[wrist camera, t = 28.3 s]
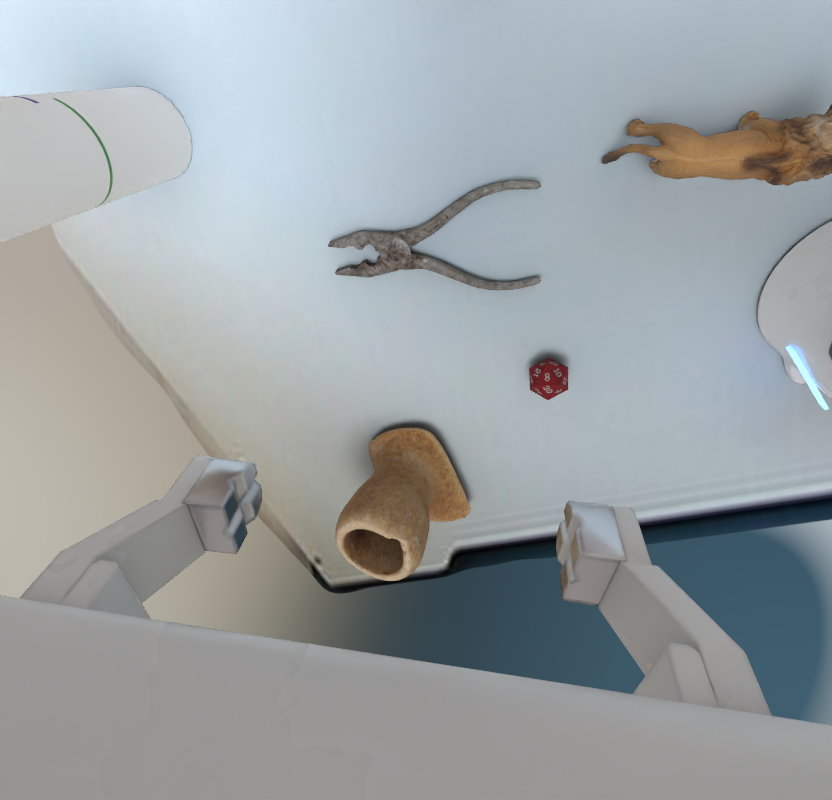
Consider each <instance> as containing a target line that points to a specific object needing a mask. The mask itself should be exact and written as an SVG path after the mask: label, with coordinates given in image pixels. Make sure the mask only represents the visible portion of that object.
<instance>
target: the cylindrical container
mask: <svg viewBox="0 0 832 800" xmlns="http://www.w3.org/2000/svg"><path fill="white" fill-rule="evenodd" d="M191 156H192V142H191V136H190V133H189V130H188V127H187V125H186V123H185V121H184V119H183V117H182V116H181V114H180V113H179V111H178V110H177V109H176V107H175V106H174V105H173V104H172V103H171V102H170V101H169V100H168V99H166V98H165V97H164V96H163V95H161V94H160V93H158V92H156V91H154V90H152V89H149V88H146V87H139V86H137V87H124V88H111V89H98V90H85V91H72V92H60V93H47V94H34V95H21V96H8V97H0V243H1V242H4V241H7V240H9V239H12V238H15V237H17V236H20V235H22V234H26V233H28V232H31V231H34V230H36V229H39V228H42V227H44V226H47V225H50V224H53V223H55V222H58V221H61V220H63V219H66V218H69V217H71V216H74V215H77V214H80V213H82V212H85V211H88V210H90V209H93V208H96V207H98V206H101V205H104V204H106V203H109V202H112V201H114V200H117V199H120V198H122V197H125V196H128V195H130V194H133V193H136V192H138V191H141V190H144V189H146V188H149V187H152V186H154V185H157V184H160V183H162V182H165V181H168V180H170V179H173V178H176V177H178V176H180V175H181V174H182V173H184V171H185V170H186V169H187V168H188V166H189V163H190V161H191Z"/></svg>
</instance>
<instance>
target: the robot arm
mask: <svg viewBox="0 0 832 800" xmlns="http://www.w3.org/2000/svg"><path fill="white" fill-rule="evenodd" d="M758 323H759V327H760V330H761V333H762V335H763V337H764V338H765V340H766V341H767V342H768V343H769V344H770V345H771V346H772V347H773V348H774V349H775V350H776V351H777V352H779V354H780V355H781V356H782V357H783V361H784V366H785V370H786V373H787V375H788V376H789V377H790V378H791V379H792V380H794V381H795V382H797V383H800V384H808V386H809V387H810V389H811V391H812V392H813V394H814V396H815V397H816V399H817V401H818V403H819V404H820V405H821V406H822V407H823V408H824V409H825V410H827V409H829V408H828V406H827V404H826V403H825V401H824V399H823V398H822V396H821V394H820V392H819V391H818V389H817V387H818V388H819V389H820V390H821V391H823V392H824V393H825V394H826V395H828V396H829V397H830V398H831V399H832V221H830V222H828V223H826V224H825V225H823V226H821V227H820V228H818V229H817V230H815V231H814V232H812V233H811V234H809V235H808V236H807V237H805V238H804V239H803V240H802V241H800V242H799V243H798V244H797V245H796V246H795V247H793V248H792V249H791V250H790V251H789V252H788V253H787V254H786V255H785V257H784V258H783V259H782V260H781V261H780V262H779V264H778V265H777V266H776V267H775V269H774V270H773V272H772V273H771V275H770V276H769V278H768V280H767V282H766V284H765V286H764V288H763V290H762V293H761V296H760V300H759V304H758ZM256 475H257V470H256V466H255V464H253V463H249V462H242V461H235V460H229V459H222V458H213V457H206V456H197V457H195V458H193V459H192V461H191V462H190V463H189V464H188V466H187V467H186V468H185V470H184V471H183V473H182V474H181V475H180V476H179V478H178V479H177V480H176V482H175V483H174V484H173V486H172V487H171V488H170V489H169V491H168V492H167V493H166V495H165V496H164V497H163V499H162V500H161V501H159V500H155V501H153V502H151V503H149V504H148V505H146V506H144V507H142V508H140V509H138V510H137V511H135V512H133V513H131V514H129V515H127V516H125V517H124V518H122V519H120V520H118V521H116V522H115V523H113V524H111V525H109V526H107V527H105V528H104V529H102V530H100V531H98V532H96V533H94V534H92V535H91V536H89V537H87V538H85V539H83V540H81V541H80V542H78V543H76V544H74V545H73V546H70V547H69V548H67V549H65V550H63V551H61V552H60V553H59V554H58V555H57V556H56V557H55V559H54V560H53V561H52V562H51V563H50V564H49V565H48V566H47V568H46V569H45V570H44V571H43V572H42V573H41V574H40V576H39V577H38V578H37V579H36V580H35V581H34V582H33V583H32V585H31V586H30V587H29V588H28V589H27V590H26V591H25V593H24V594H23V595H22V596H21V597H20V598H14V597H7V596H1V595H0V800H832V725H826V724H820V723H813V722H806V721H800V720H794V719H787V718H780V717H775V716H772V715H771V713H770V711H769V708H768V706H767V704H766V701H765V699H764V697H763V694H762V692H761V689H760V687H759V685H758V682H757V680H756V677H755V675H754V673H753V670H752V668H751V666H750V663H749V661H748V658H747V656H746V654H745V652H744V651H743V650H742V649H741V648H740V647H739V646H738V645H737V644H736V643H735V642H734V641H733V640H732V639H731V638H730V637H729V636H728V635H727V634H726V633H725V632H724V631H723V630H722V629H721V628H720V627H719V626H718V625H717V624H716V623H715V622H714V621H713V620H712V619H711V618H710V617H709V616H708V615H707V614H706V613H705V612H704V611H703V610H702V609H701V608H700V607H699V606H698V605H697V604H696V603H695V602H694V601H693V600H692V599H691V598H690V597H689V596H688V595H687V594H686V593H685V592H684V591H683V590H682V589H681V588H680V587H679V586H677V584H676V583H674V581H673V580H672V579H670V577H668V576H667V574H665V572H663V571H662V569H661V568H659V567H658V566H654V565H651V561H650V559H649V555H648V552H647V549H646V546H645V542H644V539H643V536H642V533H641V530H640V527H639V524H638V520H637V517H636V514H635V511H634V510H633V509H632V508H628V507H619V506H609V505H602V504H593V503H584V502H575V501H568V503H567V504H566V507H565V510H564V513H565V520H564V521H562V522H560V525H559V529H558V533H557V558H558V560H559V562H560V563H561V564H562V565H563V567H562V570H561V573H560V581H561V589H562V596H563V600H566V601H572V602H578V603H584V604H590V605H596V606H599V607H598V608H599V609H600V611H601V612H602V614H603V615H604V617H605V618H606V619H607V621H608V622H609V624H610V625H611V627H612V628H613V630H614V631H615V632H616V634H617V635H618V637H619V638H620V640H621V641H622V642H623V644H624V645H625V647H626V648H627V649H628V651H629V652H630V654H631V655H632V657H633V658H634V660H635V661H636V663H637V664H638V665H639V667H640V668H641V670H642V671H643V673H644V674H645V676H646V677H645V678H644V679H643V681H642V682H641V683H640V685H639V686H638V688H637V689H636V690H635V692H634V693H633V694H628V693H621V692H615V691H608V690H601V689H596V688H588V687H583V686H576V685H570V684H563V683H557V682H551V681H544V680H538V679H531V678H525V677H519V676H512V675H506V674H499V673H493V672H487V671H480V670H474V669H467V668H461V667H455V666H448V665H442V664H436V663H429V662H423V661H417V660H410V659H404V658H397V657H390V656H384V655H378V654H371V653H365V652H359V651H352V650H346V649H339V648H333V647H327V646H320V645H314V644H307V643H301V642H294V641H288V640H281V639H275V638H268V637H262V636H255V635H249V634H243V633H237V632H230V631H224V630H218V629H211V628H204V627H198V626H192V625H185V624H179V623H173V622H166V621H160V620H154V619H150V617H149V615H148V613H147V611H146V610H145V609H144V607H143V605H142V603H143V602H144V601H145V600H146V599H148V598H149V597H150V596H151V595H153V594H154V593H155V592H156V591H158V590H159V589H160V588H161V587H163V586H164V585H165V584H166V583H168V582H169V581H170V580H171V579H173V578H174V577H175V576H176V575H178V574H179V573H180V572H181V571H183V570H184V569H185V568H186V567H188V566H189V565H190V564H192V563H193V562H194V561H195V560H196V559H198V558H199V557H200V556H202V555H203V554H204V553H205V551H213V552H221V553H230V554H237V552H238V550H239V549H240V547H241V545H242V543H243V541H244V539H245V537H246V535H247V529H246V525H247V524H249V523H250V522H252V521H253V520H255V517H256V516H257V514H258V512H259V509H260V505H261V501H262V490H261V485H260V484H259V483H258V482H257V481H256V480H255V479H254V478H255V477H256Z"/></svg>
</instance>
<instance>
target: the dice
mask: <svg viewBox="0 0 832 800" xmlns="http://www.w3.org/2000/svg"><path fill="white" fill-rule="evenodd" d="M529 372H530V390H532V391H533V392H535V393H537V394H538V395H540V396H542V397H543V398H545V399H547V400H549V399H551V398H553V397H555V396H557V395H558V394H560V393H562V392H564V391H566V390H568V367H566V366H564V365H562V364H560V363H558V362H556V361H554V360H552V359H550V358H548V359H546V360H544V361H542V362H540V363H538V364H537V365H535V366H533V367H531V368H529Z"/></svg>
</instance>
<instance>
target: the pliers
mask: <svg viewBox="0 0 832 800" xmlns="http://www.w3.org/2000/svg"><path fill="white" fill-rule="evenodd" d="M540 186H541V185H540V183H539V182H536V181H531V180H512V181H504V182H498V183H494V184H490V185H487V186H483V187H481V188H478V189H476V190H474V191H471V192H470V193H468V194H466V195H465V196H463V197H462V198H460V199H459V200H457V201H456V202H455V203H453V204H452V205H450V206H449V207H448V208H446V209H445V210H444V211H442V212H441V213H440V214H438V215H437V216H436V217H434V218H433V219H431V220H430V221H428V222H427V223H425V224H423V225H421V226H419V227H416V228H413V229H407V230H402V231H398V232H388V231H359V232H356V233H353V234H350V235H347V236H345V237H342V238H339V239H336V240H333V241H331V242H330V243H329V244H328V247H337V248H346V247H347V246H354V247H355V248H356V249H359V250H362V249H363V248H364V246H365V245H366V244H370V245H372V246H374V248H375V250H376V251H380V255H379V257H378V258H377V263H376V264H375V263H370V262H369V261H368V260H364V261H363V262H362V263H361V264H359V265H356V266H354V265H349V266H346V267H343V268H340V269H337V270H336V272H335V273H336V275H348V276H360V277H373V276H377V275H381V274H386V273H390V272H393V271H397V270H399V269H426V270H430V271H434V272H437V273H439V274H442V275H445V276H447V277H450V278H452V279H455V280H457V281H460V282H462V283H465V284H467V285H470V286H474V287H477V288H482V289H488V290H512V289H519V288H524V287H528V286H532V285H535V284H538V283H539V282H540V278H539V277H533V278H529V279H525V280H521V281H514V282H494V281H487V280H483V279H479V278H477V277H474V276H471V275H469V274H467V273H465V272H463V271H460V270H458V269H456V268H454V267H452V266H450V265H448V264H446V263H444V262H442V261H440V260H437V259H434V258H431V257H428V256H425V255H421V254H418V253H415V252H413V251H412V250H411V246H413V245H415V244H417V243H419V242H420V241H422V240H424V239H426V238H427V237H429V236H431V235H432V234H434V233H435V232H436V231H438V230H439V229H440V228H441V227H443V226H444V225H445V224H446V223H447V222H448V221H449V220H451V219H452V218H453V217H454V216H455V215H457V214H458V213H459V212H460V211H462V210H463V209H464V208H466V207H467V206H468V205H470V204H471V203H473V202H474V201H476V200H478V199H480V198H482V197H484V196H487V195H490V194H493V193H496V192H500V191H504V190H511V189H538V188H540Z"/></svg>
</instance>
